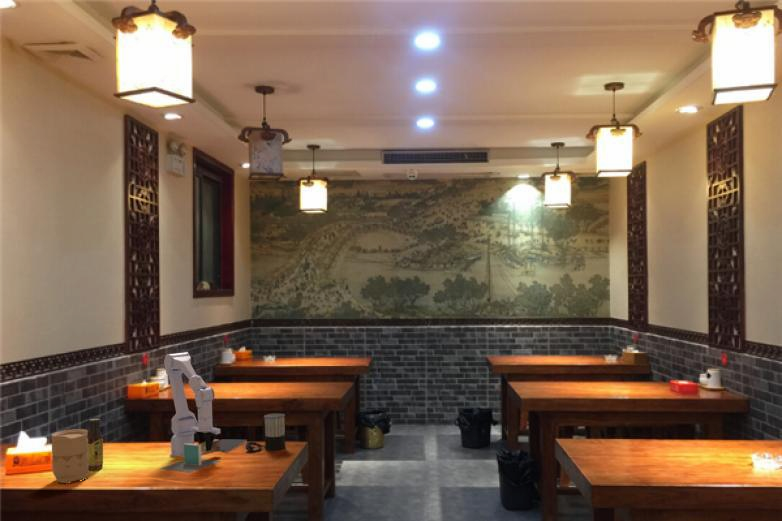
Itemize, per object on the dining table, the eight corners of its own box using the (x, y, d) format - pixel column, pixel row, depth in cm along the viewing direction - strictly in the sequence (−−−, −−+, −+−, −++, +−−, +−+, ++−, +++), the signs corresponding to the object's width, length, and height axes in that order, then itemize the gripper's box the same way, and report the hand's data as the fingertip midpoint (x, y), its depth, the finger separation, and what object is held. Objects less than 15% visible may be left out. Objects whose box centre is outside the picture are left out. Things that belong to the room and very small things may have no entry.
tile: (186, 462, 283) (186, 443, 284) (201, 464, 280) (200, 444, 280) (184, 463, 282) (183, 444, 282) (198, 465, 278) (198, 445, 278)
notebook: (222, 442, 324) (201, 453, 303) (222, 439, 324) (200, 450, 303) (247, 442, 321) (228, 454, 300) (247, 439, 321) (227, 450, 300)
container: (95, 477, 269) (94, 430, 269) (65, 486, 258) (64, 437, 259) (75, 473, 275) (74, 428, 276) (45, 482, 264) (44, 434, 265)
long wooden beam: (215, 450, 294) (215, 439, 295) (220, 450, 293) (220, 439, 294) (191, 456, 282) (191, 445, 282) (196, 457, 281) (196, 445, 281)
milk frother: (290, 448, 306) (289, 414, 306) (264, 456, 293) (263, 420, 293) (267, 444, 314) (266, 411, 314) (241, 452, 301) (240, 418, 301)
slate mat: (159, 470, 276) (159, 468, 276) (192, 459, 292) (192, 457, 292) (189, 474, 268) (189, 472, 268) (221, 462, 284) (221, 461, 284)
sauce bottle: (97, 470, 278) (95, 421, 279) (83, 470, 280) (82, 421, 280) (106, 466, 285) (105, 417, 285) (93, 466, 286) (92, 417, 287)
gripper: (185, 418, 288) (186, 451, 288) (211, 420, 281) (212, 454, 281) (197, 415, 294) (198, 447, 294) (223, 417, 287) (224, 450, 287)
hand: (206, 450), depth 288 cm, fingers closed on long wooden beam, 2 cm apart
